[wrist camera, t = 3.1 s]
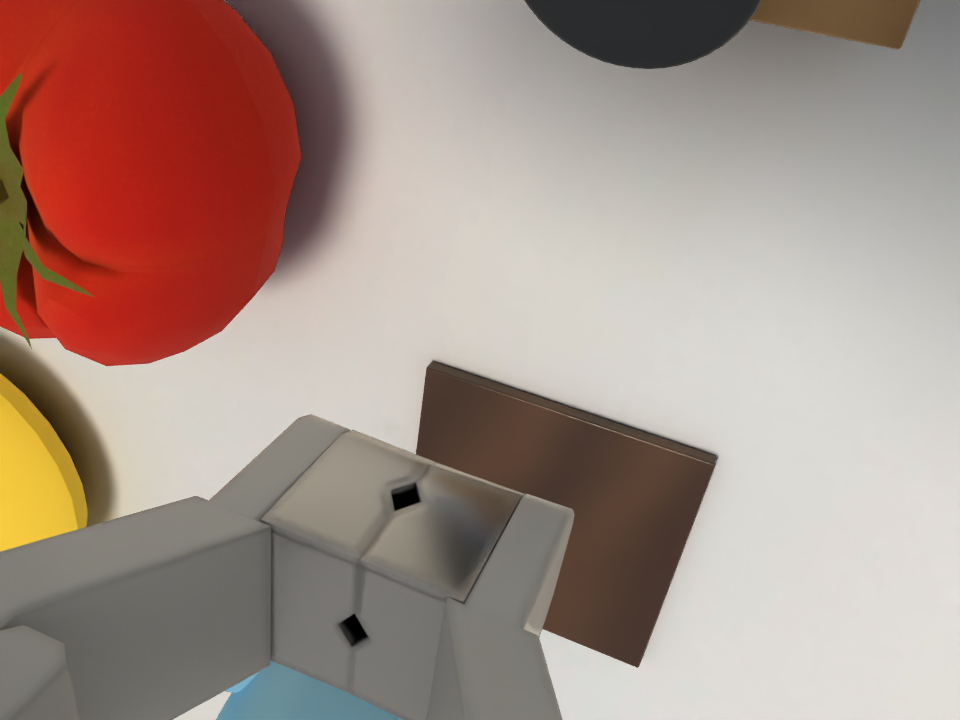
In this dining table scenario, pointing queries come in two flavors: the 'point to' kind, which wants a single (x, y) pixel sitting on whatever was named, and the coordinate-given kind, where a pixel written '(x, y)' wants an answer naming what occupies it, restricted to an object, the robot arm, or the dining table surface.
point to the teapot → (294, 699)
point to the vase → (34, 475)
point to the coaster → (578, 498)
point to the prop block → (843, 18)
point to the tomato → (137, 172)
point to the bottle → (645, 28)
